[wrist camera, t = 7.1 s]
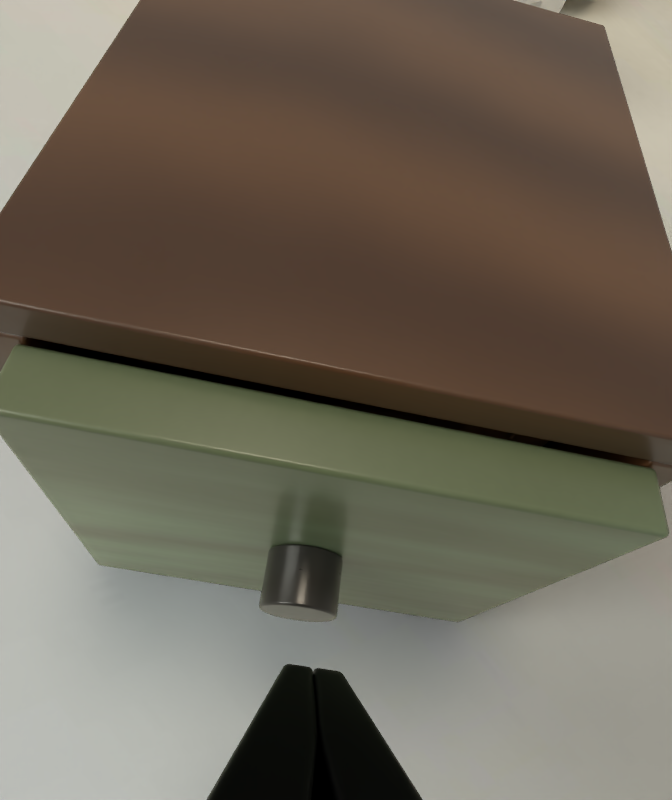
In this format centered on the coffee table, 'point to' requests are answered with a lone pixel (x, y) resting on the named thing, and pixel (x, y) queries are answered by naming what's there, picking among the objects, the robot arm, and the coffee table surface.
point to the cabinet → (360, 216)
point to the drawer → (311, 490)
